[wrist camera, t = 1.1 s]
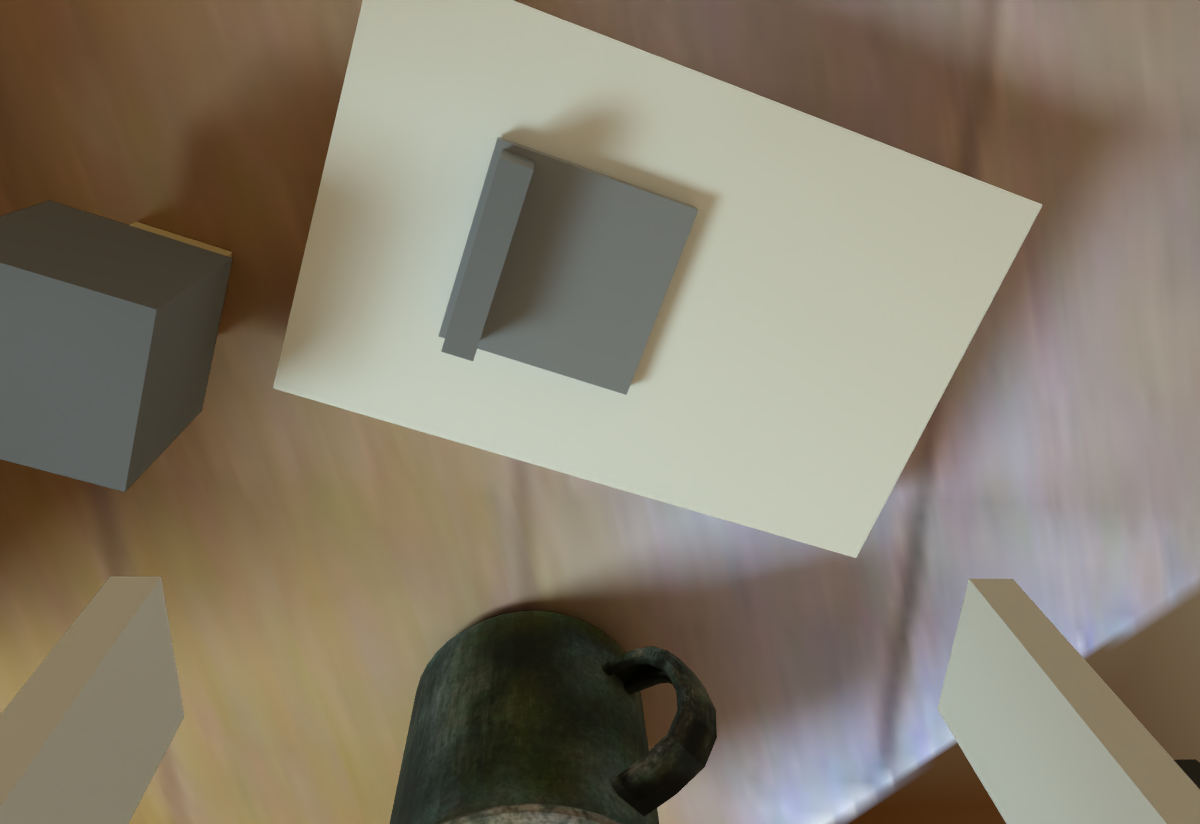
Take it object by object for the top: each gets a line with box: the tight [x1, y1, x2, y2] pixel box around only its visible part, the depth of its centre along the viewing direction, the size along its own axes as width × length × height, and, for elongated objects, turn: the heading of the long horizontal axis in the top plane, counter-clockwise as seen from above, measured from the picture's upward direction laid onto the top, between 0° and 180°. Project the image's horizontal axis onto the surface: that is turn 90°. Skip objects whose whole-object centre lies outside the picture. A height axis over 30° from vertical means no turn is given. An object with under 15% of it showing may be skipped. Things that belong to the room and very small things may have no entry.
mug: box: [390, 611, 717, 824], centre depth 35 cm, size 11×15×12 cm
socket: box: [273, 0, 1042, 558], centre depth 31 cm, size 22×14×4 cm, turn 70°
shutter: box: [439, 137, 698, 395], centre depth 27 cm, size 6×6×3 cm
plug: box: [0, 201, 233, 492], centre depth 28 cm, size 6×6×10 cm
